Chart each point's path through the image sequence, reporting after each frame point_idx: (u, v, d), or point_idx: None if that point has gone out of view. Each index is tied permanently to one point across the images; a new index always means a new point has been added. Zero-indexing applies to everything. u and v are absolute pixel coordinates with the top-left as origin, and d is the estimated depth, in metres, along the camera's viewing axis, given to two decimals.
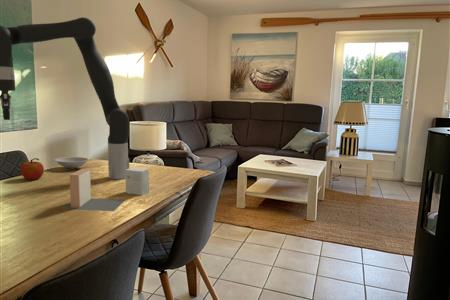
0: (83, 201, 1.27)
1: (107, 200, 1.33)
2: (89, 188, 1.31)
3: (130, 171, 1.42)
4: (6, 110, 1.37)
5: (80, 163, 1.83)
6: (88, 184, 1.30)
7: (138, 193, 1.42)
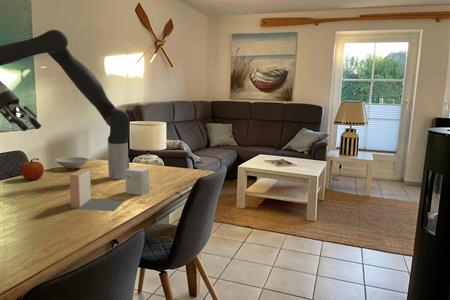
0: (83, 201, 1.27)
1: (107, 200, 1.33)
2: (89, 188, 1.31)
3: (130, 171, 1.42)
4: (16, 122, 1.26)
5: (80, 163, 1.83)
6: (88, 184, 1.30)
7: (138, 193, 1.42)
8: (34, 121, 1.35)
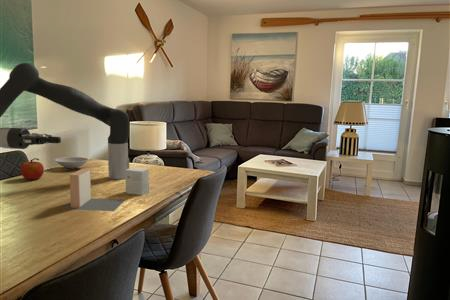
0: (83, 201, 1.27)
1: (107, 200, 1.33)
2: (89, 188, 1.31)
3: (130, 171, 1.42)
4: (47, 140, 1.23)
5: (80, 163, 1.83)
6: (88, 184, 1.30)
7: (138, 193, 1.42)
8: None
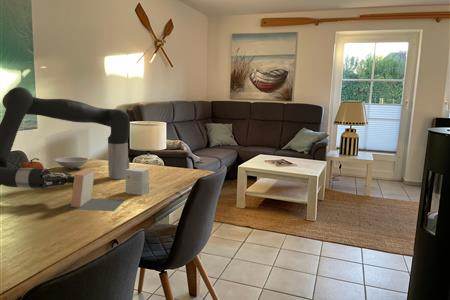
0: (84, 201, 1.27)
1: (107, 200, 1.33)
2: (91, 188, 1.31)
3: (130, 171, 1.42)
4: (67, 180, 1.26)
5: (80, 163, 1.83)
6: (91, 184, 1.30)
7: (138, 193, 1.42)
8: None
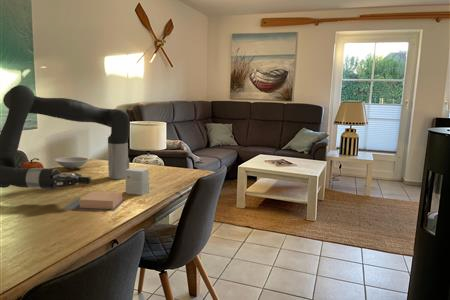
0: None
1: None
2: None
3: (130, 171, 1.42)
4: (77, 181, 1.25)
5: (80, 163, 1.83)
6: None
7: (138, 193, 1.42)
8: None
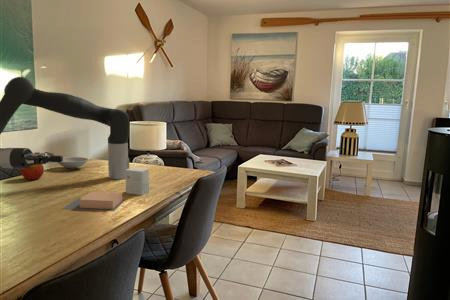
0: None
1: None
2: None
3: (130, 171, 1.42)
4: (49, 159, 1.25)
5: (80, 163, 1.83)
6: None
7: (138, 193, 1.42)
8: None
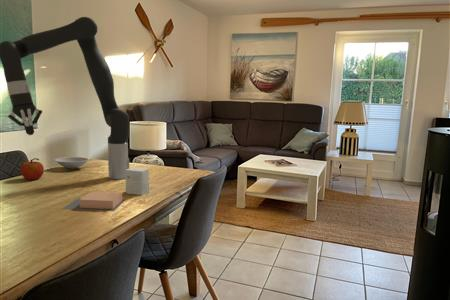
0: None
1: None
2: None
3: (130, 171, 1.42)
4: (24, 126, 1.42)
5: (80, 163, 1.83)
6: None
7: (138, 193, 1.42)
8: None
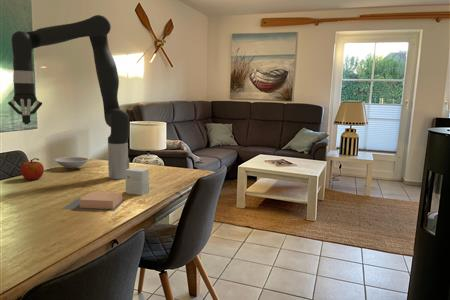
0: None
1: None
2: None
3: (130, 171, 1.42)
4: None
5: (80, 163, 1.83)
6: None
7: (138, 193, 1.42)
8: None
